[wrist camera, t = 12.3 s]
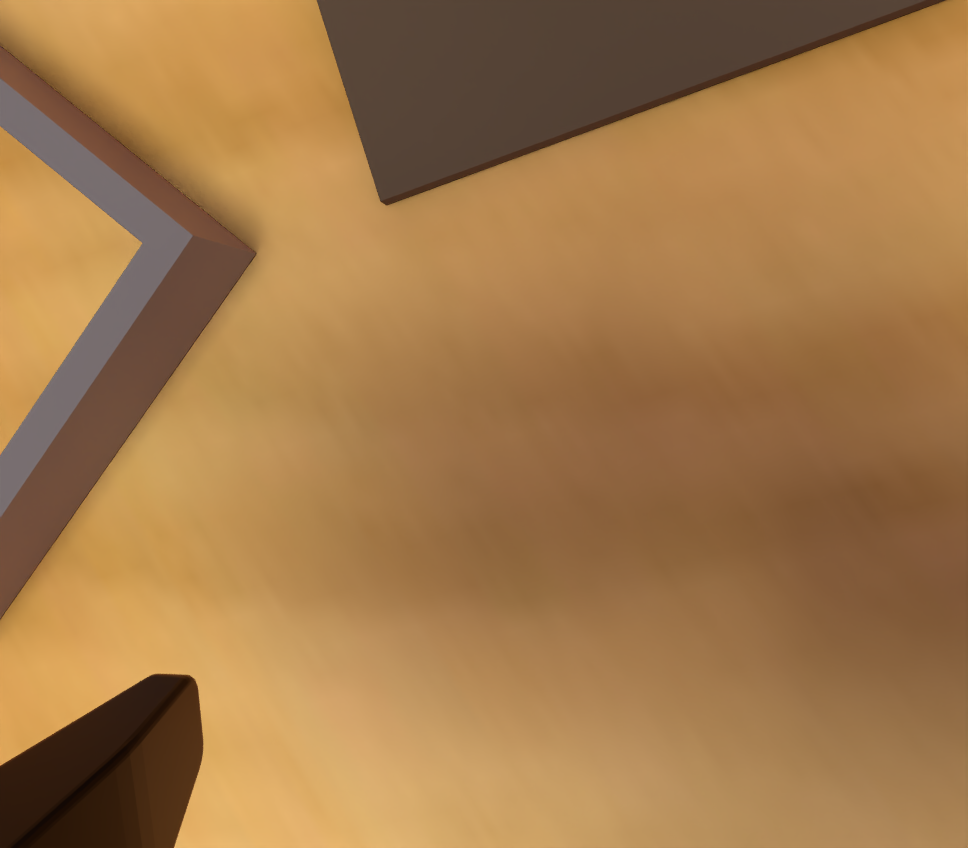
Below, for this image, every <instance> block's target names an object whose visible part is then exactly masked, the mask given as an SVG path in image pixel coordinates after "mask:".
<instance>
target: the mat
mask: <svg viewBox="0 0 968 848" xmlns="http://www.w3.org/2000/svg"><path fill="white" fill-rule="evenodd" d="M942 1H944V0H317V2H318V6H319V9H320V12H321V15H322V18H323V21H324V24H325V28H326V31H327V34H328V37H329V40H330V43H331V47H332V50H333V53H334V56H335V59H336V62H337V66H338V69H339V72H340V75H341V78H342V81H343V85H344V88H345V91H346V94H347V97H348V100H349V103H350V107H351V110H352V113H353V116H354V119H355V122H356V126H357V129H358V132H359V135H360V138H361V141H362V145H363V148H364V151H365V154H366V157H367V160H368V164H369V167H370V170H371V173H372V176H373V179H374V182H375V186H376V189H377V192H378V195H379V198H380V201H381V202H382V203H384V204H385V205H388V204H391V203H394V202H396V201H399V200H402V199H405V198H407V197H410V196H413V195H416V194H418V193H421V192H424V191H426V190H429V189H432V188H435V187H437V186H440V185H443V184H446V183H448V182H451V181H454V180H456V179H459V178H462V177H465V176H467V175H470V174H473V173H476V172H478V171H481V170H484V169H486V168H489V167H492V166H495V165H497V164H500V163H503V162H506V161H508V160H511V159H514V158H516V157H519V156H522V155H525V154H527V153H530V152H533V151H536V150H538V149H541V148H544V147H546V146H549V145H552V144H555V143H557V142H560V141H563V140H566V139H568V138H571V137H574V136H576V135H579V134H582V133H585V132H587V131H590V130H593V129H595V128H598V127H601V126H604V125H606V124H609V123H612V122H615V121H617V120H620V119H623V118H625V117H628V116H631V115H634V114H636V113H639V112H642V111H645V110H647V109H650V108H653V107H655V106H658V105H661V104H664V103H666V102H669V101H672V100H675V99H677V98H680V97H683V96H685V95H688V94H691V93H694V92H696V91H699V90H702V89H705V88H707V87H710V86H713V85H715V84H718V83H721V82H724V81H726V80H729V79H732V78H735V77H737V76H740V75H743V74H745V73H748V72H751V71H754V70H756V69H759V68H762V67H764V66H767V65H770V64H773V63H775V62H778V61H781V60H784V59H786V58H789V57H792V56H794V55H797V54H800V53H803V52H805V51H808V50H811V49H814V48H816V47H819V46H822V45H824V44H827V43H830V42H833V41H835V40H838V39H841V38H844V37H846V36H849V35H852V34H854V33H857V32H860V31H863V30H865V29H868V28H871V27H874V26H876V25H879V24H882V23H884V22H887V21H890V20H893V19H895V18H898V17H901V16H904V15H906V14H909V13H912V12H914V11H917V10H920V9H923V8H925V7H928V6H931V5H934V4H936V3H939V2H942Z"/></svg>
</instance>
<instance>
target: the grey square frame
mask: <svg viewBox="0 0 968 848" xmlns="http://www.w3.org/2000/svg"><path fill="white" fill-rule="evenodd" d="M0 126H1V127H2V128H3V129H4V130H6V131H7V132H8V133H9V134H11V135H12V136H13V137H14V138H15V139H17V140H18V141H19V142H20V143H22V144H23V145H24V146H25V147H26V148H28V149H29V150H30V151H31V152H32V153H34V154H35V155H36V156H37V157H39V158H40V159H41V160H42V161H43V162H45V163H46V164H47V165H48V166H50V167H51V168H52V169H53V170H54V171H56V172H57V173H58V174H59V175H61V176H62V177H63V178H64V179H65V180H67V181H68V182H69V183H70V184H71V185H73V186H74V187H75V188H76V189H78V190H79V191H80V192H81V193H82V194H84V195H85V196H86V197H87V198H89V199H90V200H91V201H92V202H93V203H95V204H96V205H97V206H98V207H99V208H101V209H102V210H103V211H104V212H106V213H107V214H108V215H109V216H110V217H112V218H113V219H114V220H115V221H117V222H118V223H119V224H120V225H121V226H123V227H124V228H125V229H126V230H127V231H129V232H130V233H131V234H132V235H134V236H135V237H136V238H137V239H138V240H140V241H141V242H142V243H143V244H142V245H141V247H140V248H139V250H138V251H137V253H136V254H135V256H134V257H133V259H132V260H131V261H130V263H129V264H128V266H127V267H126V269H125V270H124V272H123V273H122V275H121V276H120V278H119V279H118V281H117V282H116V284H115V285H114V287H113V288H112V290H111V291H110V293H109V294H108V296H107V297H106V299H105V300H104V302H103V303H102V305H101V306H100V308H99V309H98V311H97V312H96V314H95V315H94V317H93V318H92V320H91V321H90V323H89V324H88V326H87V327H86V329H85V330H84V332H83V333H82V335H81V336H80V337H79V339H78V340H77V342H76V343H75V345H74V346H73V348H72V349H71V351H70V352H69V354H68V355H67V357H66V358H65V360H64V361H63V363H62V364H61V366H60V367H59V369H58V370H57V372H56V373H55V375H54V376H53V378H52V379H51V381H50V382H49V384H48V385H47V387H46V388H45V390H44V391H43V393H42V394H41V396H40V397H39V399H38V400H37V402H36V403H35V405H34V406H33V408H32V409H31V410H30V412H29V413H28V415H27V416H26V418H25V419H24V421H23V422H22V424H21V425H20V427H19V428H18V430H17V431H16V433H15V434H14V436H13V437H12V439H11V440H10V442H9V443H8V445H7V446H6V448H5V449H4V451H3V452H2V454H1V455H0V618H1V617H2V615H3V614H4V613H5V611H6V610H7V608H8V607H9V606H10V604H11V603H12V601H13V600H14V598H15V597H16V596H17V594H18V593H19V591H20V590H21V588H22V587H23V586H24V584H25V583H26V581H27V580H28V578H29V577H30V576H31V574H32V573H33V571H34V570H35V568H36V567H37V566H38V564H39V563H40V561H41V560H42V558H43V557H44V556H45V554H46V553H47V551H48V550H49V548H50V547H51V546H52V544H53V543H54V541H55V540H56V538H57V537H58V536H59V534H60V533H61V531H62V530H63V528H64V527H65V526H66V524H67V523H68V521H69V520H70V518H71V517H72V516H73V514H74V513H75V511H76V510H77V509H78V507H79V506H80V504H81V503H82V501H83V500H84V499H85V497H86V496H87V494H88V493H89V491H90V490H91V489H92V487H93V486H94V484H95V483H96V481H97V480H98V479H99V477H100V476H101V474H102V473H103V471H104V470H105V469H106V467H107V466H108V464H109V463H110V461H111V460H112V459H113V457H114V456H115V454H116V453H117V451H118V450H119V449H120V447H121V446H122V444H123V443H124V441H125V440H126V439H127V437H128V436H129V434H130V433H131V431H132V430H133V429H134V427H135V426H136V424H137V423H138V421H139V420H140V419H141V417H142V416H143V414H144V413H145V412H146V410H147V409H148V407H149V406H150V404H151V403H152V402H153V400H154V399H155V397H156V396H157V394H158V393H159V392H160V390H161V389H162V387H163V386H164V384H165V383H166V382H167V380H168V379H169V377H170V376H171V374H172V373H173V372H174V370H175V369H176V367H177V366H178V364H179V363H180V362H181V360H182V359H183V357H184V356H185V354H186V353H187V352H188V350H189V349H190V347H191V346H192V344H193V343H194V342H195V340H196V339H197V337H198V336H199V334H200V333H201V332H202V330H203V329H204V327H205V326H206V324H207V323H208V322H209V320H210V319H211V317H212V316H213V315H214V313H215V312H216V310H217V309H218V307H219V306H220V305H221V303H222V302H223V300H224V299H225V297H226V296H227V295H228V293H229V292H230V290H231V289H232V287H233V286H234V285H235V283H236V282H237V280H238V279H239V277H240V276H241V275H242V273H243V272H244V270H245V269H246V267H247V266H248V265H249V263H250V262H251V260H252V259H253V257H254V256H255V255H256V253H255V252H254V251H252V250H251V249H250V248H249V247H248V246H246V245H245V244H244V243H243V242H241V241H240V240H239V239H238V238H236V237H235V236H234V235H233V234H232V233H230V232H229V231H228V230H227V229H225V228H224V227H223V226H222V225H220V224H219V223H218V222H217V221H216V220H214V219H213V218H212V217H211V216H209V215H208V214H207V213H206V212H204V211H203V210H202V209H201V208H200V207H198V206H197V205H196V204H195V203H193V202H192V201H191V200H190V199H188V198H187V197H186V196H185V195H183V194H182V193H181V192H180V191H179V190H177V189H176V188H175V187H174V186H172V185H171V184H170V183H169V182H167V181H166V180H165V179H164V178H163V177H161V176H160V175H159V174H158V173H156V172H155V171H154V170H153V169H151V168H150V167H149V166H148V165H147V164H145V163H144V162H143V161H142V160H140V159H139V158H138V157H137V156H135V155H134V154H133V153H132V152H131V151H129V150H128V149H127V148H126V147H124V146H123V145H122V144H121V143H119V142H118V141H117V140H116V139H114V138H113V137H112V136H111V135H110V134H108V133H107V132H106V131H105V130H103V129H102V128H101V127H100V126H98V125H97V124H96V123H95V122H94V121H92V120H91V119H90V118H89V117H87V116H86V115H85V114H84V113H82V112H81V111H80V110H79V109H78V108H76V107H75V106H74V105H73V104H71V103H70V102H69V101H68V100H66V99H65V98H64V97H63V96H62V95H60V94H59V93H58V92H57V91H55V90H54V89H53V88H52V87H50V86H49V85H48V84H47V83H45V82H44V81H43V80H42V79H41V78H39V77H38V76H37V75H36V74H34V73H33V72H32V71H31V70H29V69H28V68H27V67H26V66H25V65H23V64H22V63H21V62H20V61H18V60H17V59H16V58H15V57H13V56H12V55H11V54H10V53H9V52H7V51H6V50H5V49H4V48H2V47H1V46H0Z"/></svg>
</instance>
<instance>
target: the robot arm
mask: <svg viewBox="0 0 968 848" xmlns="http://www.w3.org/2000/svg"><path fill="white" fill-rule="evenodd" d="M202 755H203V733H202V723H201V713H200V703H199V693H198V686H197V684H196V681H195V679H194V678H192V677H191V676H190V675H178V674H154V675H151V676H149V677H147V678H145V679H144V680H142V681H140V682H139V683H137V684H135V685H134V686H132V687H130V688H129V689H127V690H125V691H124V692H122V693H120V694H119V695H117V696H115V697H114V698H112V699H110V700H109V701H107V702H105V703H104V704H102V705H100V706H99V707H97V708H96V709H94V710H92V711H91V712H89V713H87V714H86V715H84V716H82V717H81V718H79V719H77V720H76V721H74V722H72V723H71V724H69V725H67V726H66V727H64V728H62V729H61V730H59V731H57V732H56V733H54V734H52V735H51V736H49V737H47V738H46V739H44V740H42V741H41V742H39V743H37V744H36V745H34V746H32V747H31V748H29V749H27V750H26V751H24V752H22V753H21V754H19V755H18V756H16V757H14V758H13V759H11V760H9V761H8V762H6V763H4V764H3V765H1V766H0V848H174V846H175V843H176V840H177V837H178V834H179V830H180V827H181V824H182V821H183V818H184V815H185V812H186V809H187V806H188V803H189V800H190V797H191V794H192V790H193V787H194V784H195V781H196V778H197V775H198V772H199V769H200V765H201V761H202Z"/></svg>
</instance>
